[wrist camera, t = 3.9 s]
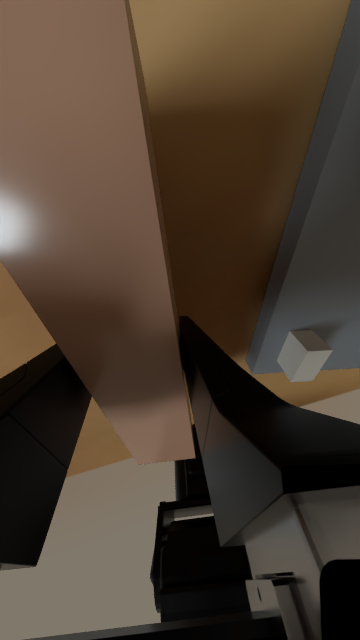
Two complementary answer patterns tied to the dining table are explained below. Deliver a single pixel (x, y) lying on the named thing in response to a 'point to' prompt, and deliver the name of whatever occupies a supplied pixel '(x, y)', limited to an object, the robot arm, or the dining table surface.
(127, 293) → the clay strip
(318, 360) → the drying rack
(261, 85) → the dining table surface
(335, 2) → the dining table surface
